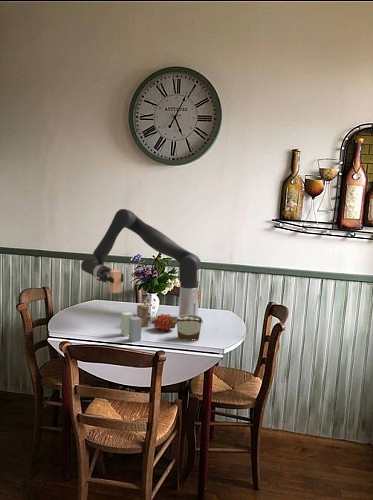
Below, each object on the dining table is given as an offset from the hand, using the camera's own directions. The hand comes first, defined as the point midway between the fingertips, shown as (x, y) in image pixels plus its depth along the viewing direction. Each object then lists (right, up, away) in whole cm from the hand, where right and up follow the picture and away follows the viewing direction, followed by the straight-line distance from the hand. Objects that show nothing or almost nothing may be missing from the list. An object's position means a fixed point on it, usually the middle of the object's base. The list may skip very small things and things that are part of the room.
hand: (117, 280), depth 216 cm
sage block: (+5, -24, -6) cm, 25 cm away
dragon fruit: (+21, -24, +3) cm, 32 cm away
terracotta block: (-2, -5, +3) cm, 7 cm away
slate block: (+9, -25, -12) cm, 30 cm away
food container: (+33, -26, -6) cm, 42 cm away
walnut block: (+11, -22, +8) cm, 26 cm away
